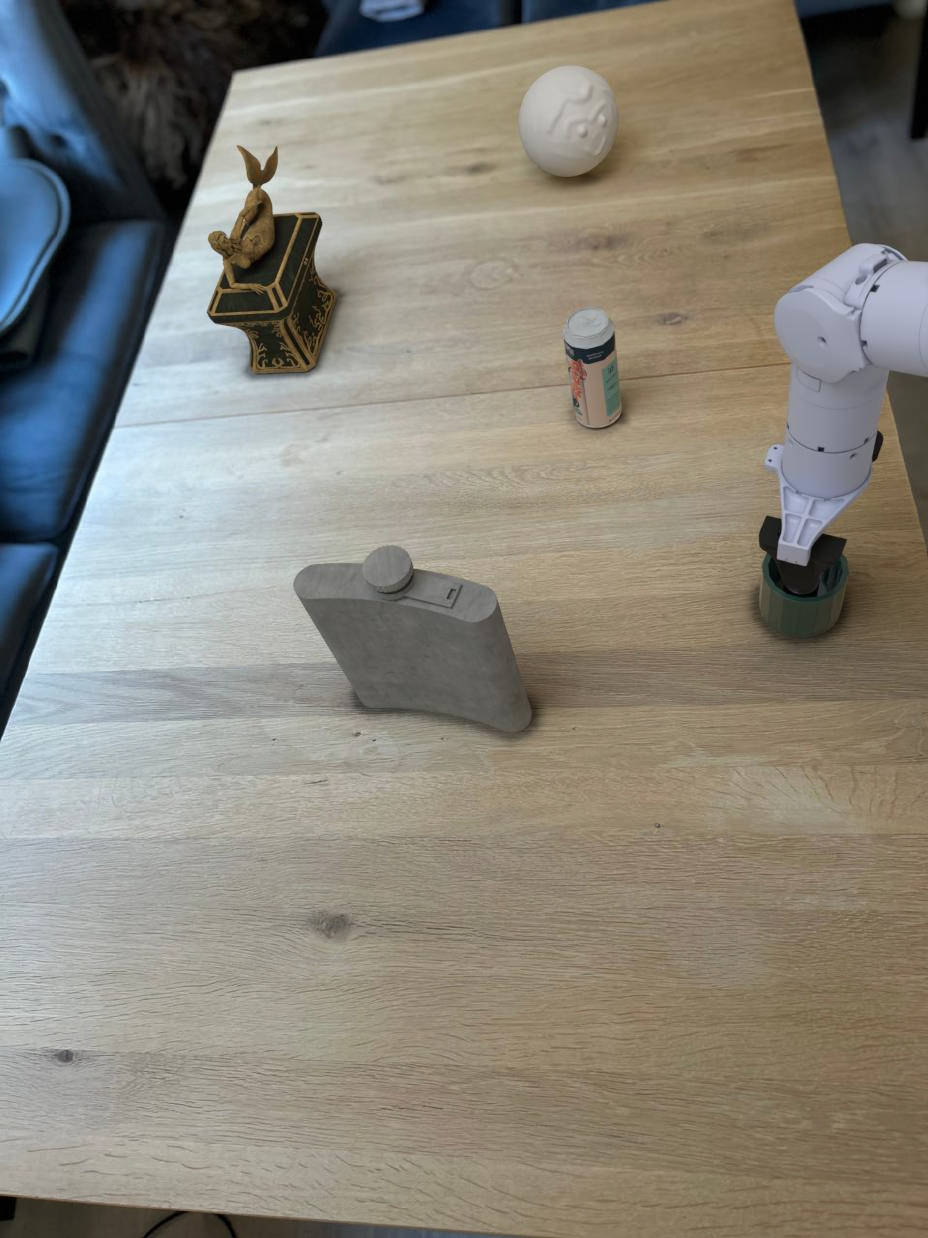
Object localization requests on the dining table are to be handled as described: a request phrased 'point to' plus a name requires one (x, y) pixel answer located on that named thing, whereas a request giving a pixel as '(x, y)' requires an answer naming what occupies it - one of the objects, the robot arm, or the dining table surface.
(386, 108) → the dining table surface
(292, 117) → the dining table surface
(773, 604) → the pot
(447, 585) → the hip flask
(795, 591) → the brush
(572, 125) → the decorative ball
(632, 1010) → the dining table surface
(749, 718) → the dining table surface
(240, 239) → the decorative box
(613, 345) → the beer can
